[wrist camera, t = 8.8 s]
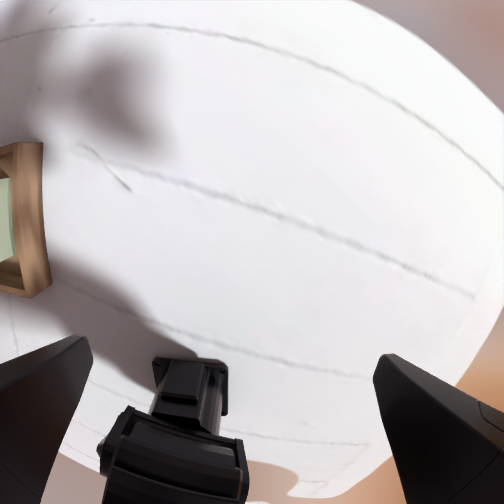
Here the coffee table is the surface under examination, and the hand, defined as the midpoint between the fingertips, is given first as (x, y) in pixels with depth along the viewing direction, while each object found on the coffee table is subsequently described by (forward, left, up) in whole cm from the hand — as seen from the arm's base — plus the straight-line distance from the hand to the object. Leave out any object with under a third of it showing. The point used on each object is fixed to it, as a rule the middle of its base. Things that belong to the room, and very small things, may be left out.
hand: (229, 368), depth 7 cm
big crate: (+2, +24, -12) cm, 27 cm away
